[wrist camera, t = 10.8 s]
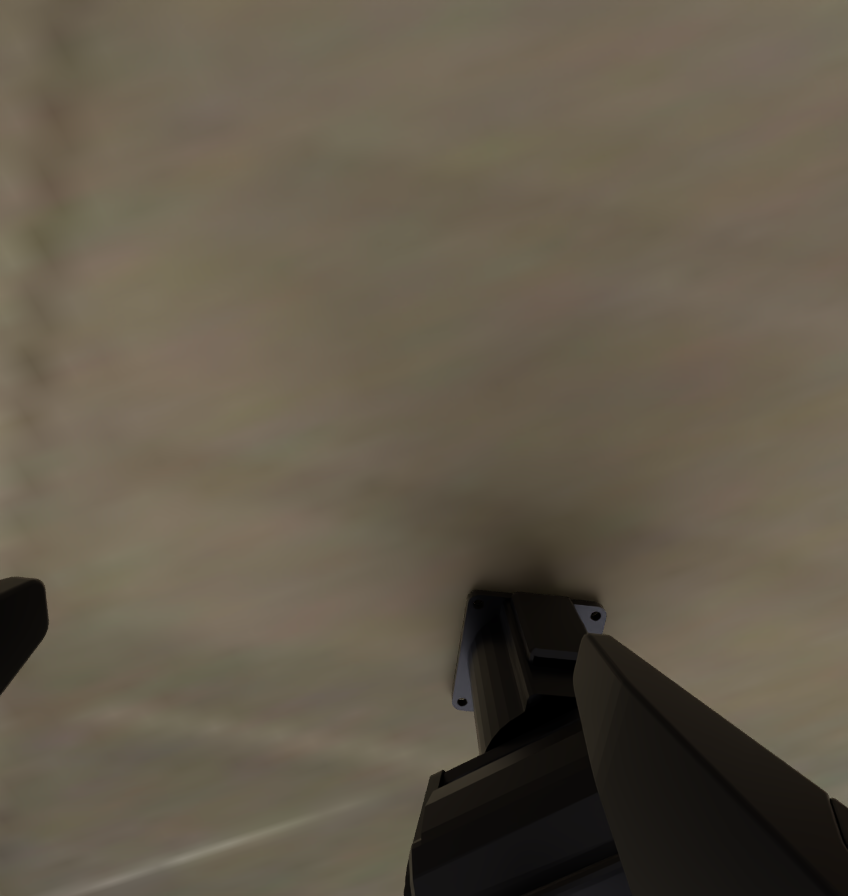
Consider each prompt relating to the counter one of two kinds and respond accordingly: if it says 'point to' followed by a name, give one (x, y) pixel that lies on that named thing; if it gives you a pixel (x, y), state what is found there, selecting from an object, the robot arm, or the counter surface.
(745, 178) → the counter surface
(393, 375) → the counter surface
